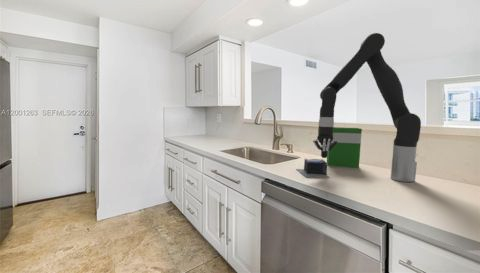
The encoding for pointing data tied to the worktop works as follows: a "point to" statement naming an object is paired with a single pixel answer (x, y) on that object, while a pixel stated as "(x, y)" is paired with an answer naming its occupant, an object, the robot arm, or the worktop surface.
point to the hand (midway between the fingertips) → (324, 157)
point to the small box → (315, 166)
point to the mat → (312, 174)
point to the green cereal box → (345, 147)
